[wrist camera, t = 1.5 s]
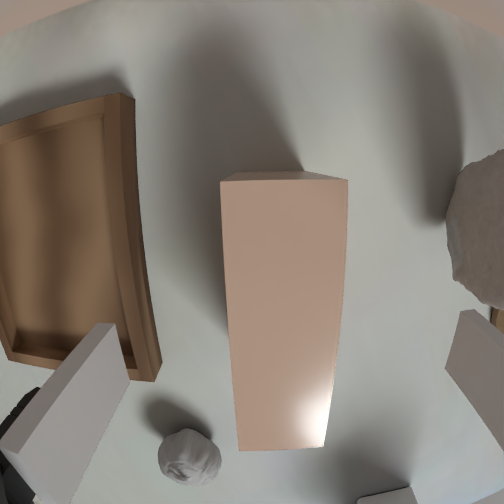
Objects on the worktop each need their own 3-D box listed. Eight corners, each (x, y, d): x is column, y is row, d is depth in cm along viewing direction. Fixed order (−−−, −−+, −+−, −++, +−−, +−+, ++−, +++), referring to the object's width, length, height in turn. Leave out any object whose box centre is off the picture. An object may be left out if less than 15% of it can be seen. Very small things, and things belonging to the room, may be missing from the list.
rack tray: (22, 346, 22) (8, 360, 20) (-15, 139, 17) (-35, 140, 15) (162, 362, 22) (154, 382, 20) (135, 99, 17) (120, 92, 15)
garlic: (151, 420, 24) (136, 464, 19) (210, 415, 23) (203, 463, 18) (177, 460, 25) (168, 501, 20) (231, 456, 25) (228, 501, 20)
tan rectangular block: (243, 351, 22) (238, 451, 13) (235, 172, 18) (220, 181, 10) (301, 349, 22) (322, 446, 13) (304, 170, 18) (347, 180, 10)
